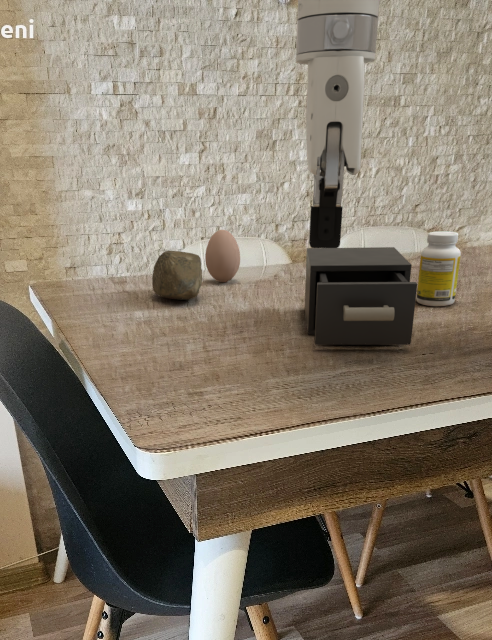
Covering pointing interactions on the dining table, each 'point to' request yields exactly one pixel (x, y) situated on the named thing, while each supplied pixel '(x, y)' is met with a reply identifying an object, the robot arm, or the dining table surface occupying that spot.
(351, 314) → the pull-out drawer
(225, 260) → the egg
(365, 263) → the dark grey drawer unit
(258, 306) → the dining table surface
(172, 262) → the stone
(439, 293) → the pill bottle
